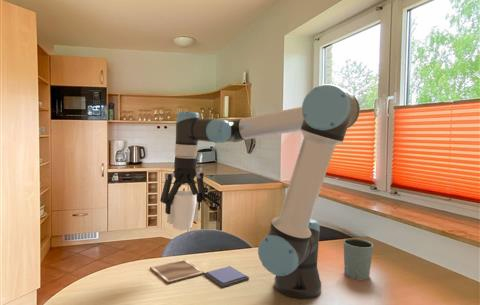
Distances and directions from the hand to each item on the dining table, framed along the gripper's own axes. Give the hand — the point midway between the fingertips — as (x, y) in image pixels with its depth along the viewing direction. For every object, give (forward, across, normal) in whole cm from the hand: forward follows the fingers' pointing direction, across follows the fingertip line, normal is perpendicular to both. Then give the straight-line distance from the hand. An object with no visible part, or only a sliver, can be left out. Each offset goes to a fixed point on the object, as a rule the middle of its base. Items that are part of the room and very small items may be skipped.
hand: (182, 221), depth 115 cm
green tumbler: (+17, -53, +36) cm, 66 cm away
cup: (+2, 0, 0) cm, 2 cm away
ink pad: (+18, -11, +12) cm, 24 cm away
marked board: (+18, +1, 0) cm, 18 cm away
